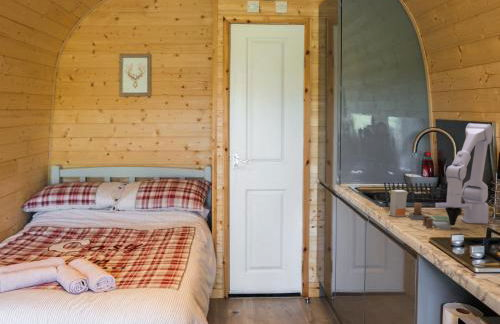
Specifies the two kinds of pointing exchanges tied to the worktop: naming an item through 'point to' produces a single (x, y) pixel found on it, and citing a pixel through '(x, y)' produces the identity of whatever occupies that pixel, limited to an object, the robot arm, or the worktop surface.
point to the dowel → (417, 208)
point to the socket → (416, 216)
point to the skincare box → (398, 203)
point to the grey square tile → (441, 225)
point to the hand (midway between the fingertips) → (452, 225)
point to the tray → (440, 219)
